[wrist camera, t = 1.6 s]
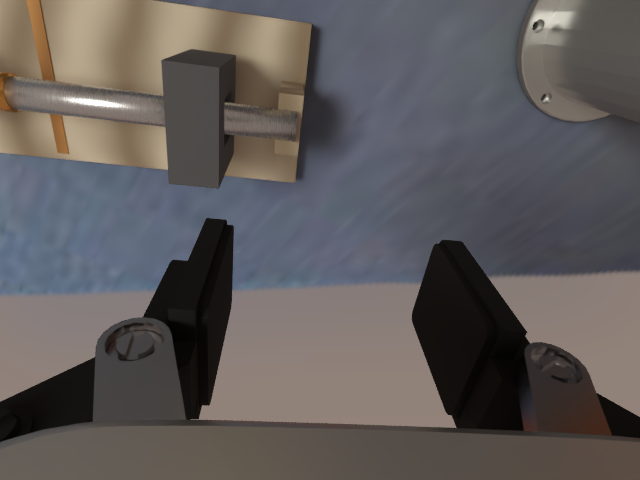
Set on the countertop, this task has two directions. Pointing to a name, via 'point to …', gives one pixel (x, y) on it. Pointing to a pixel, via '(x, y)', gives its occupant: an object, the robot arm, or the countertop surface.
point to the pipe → (132, 107)
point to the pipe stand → (147, 75)
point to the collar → (198, 116)
